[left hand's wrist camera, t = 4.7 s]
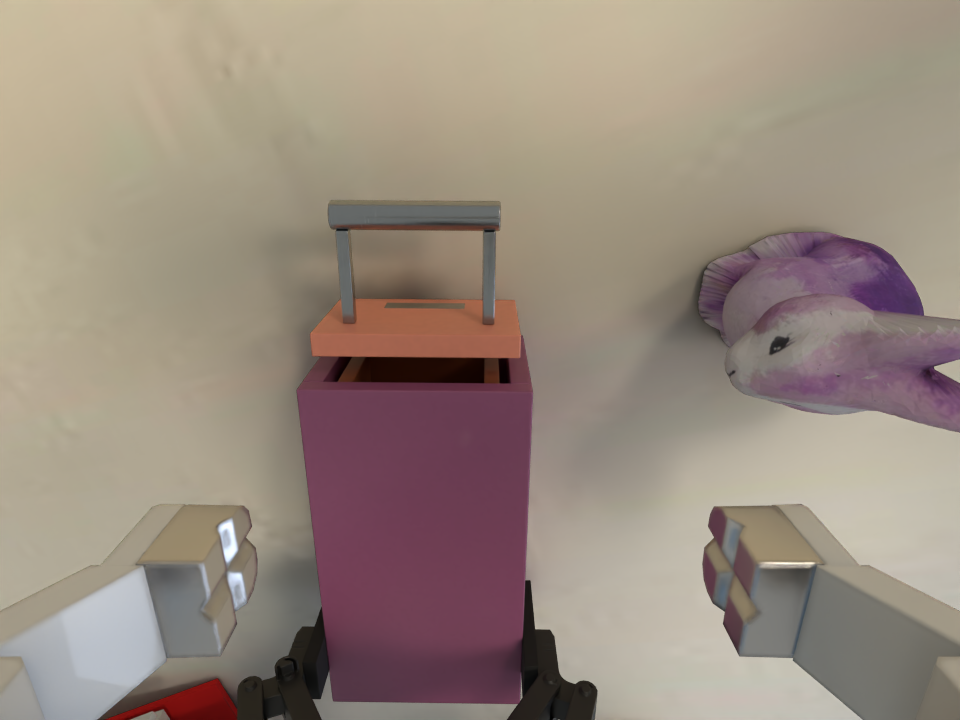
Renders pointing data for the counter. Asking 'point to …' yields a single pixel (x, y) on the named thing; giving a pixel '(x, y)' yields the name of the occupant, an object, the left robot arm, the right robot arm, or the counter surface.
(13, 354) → the counter surface
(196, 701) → the toy
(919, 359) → the figurine
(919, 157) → the counter surface
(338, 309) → the drawer
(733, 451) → the counter surface
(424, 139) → the counter surface
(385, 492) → the cabinet
